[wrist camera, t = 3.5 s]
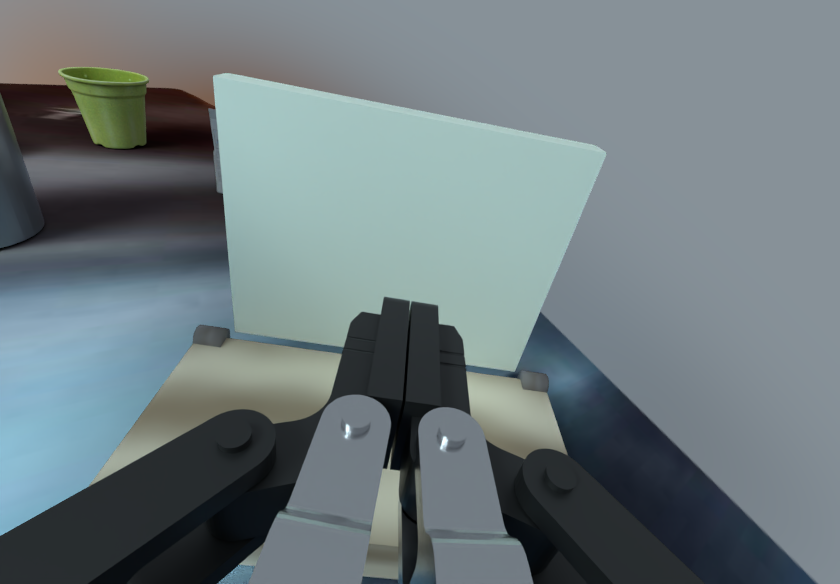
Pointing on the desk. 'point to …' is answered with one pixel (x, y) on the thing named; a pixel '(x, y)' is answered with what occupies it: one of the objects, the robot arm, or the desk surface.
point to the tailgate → (390, 215)
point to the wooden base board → (304, 396)
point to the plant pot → (110, 104)
